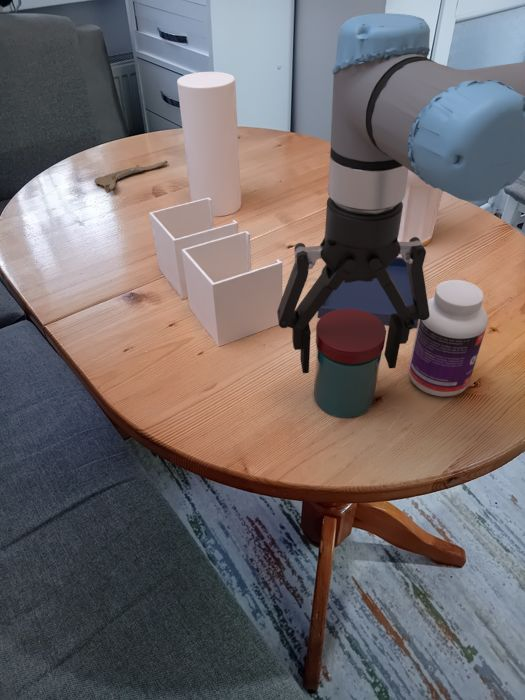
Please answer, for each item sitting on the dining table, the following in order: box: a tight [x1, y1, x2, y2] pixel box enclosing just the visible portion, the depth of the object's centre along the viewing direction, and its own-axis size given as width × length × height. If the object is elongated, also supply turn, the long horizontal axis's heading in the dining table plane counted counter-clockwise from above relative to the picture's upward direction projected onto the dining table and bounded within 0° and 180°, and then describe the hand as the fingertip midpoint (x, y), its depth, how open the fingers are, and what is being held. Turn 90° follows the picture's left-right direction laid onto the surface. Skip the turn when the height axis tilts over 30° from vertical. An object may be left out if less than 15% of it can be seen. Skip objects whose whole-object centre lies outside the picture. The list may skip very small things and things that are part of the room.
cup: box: [398, 170, 444, 246], centre depth 98 cm, size 11×11×17 cm
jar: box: [313, 345, 383, 419], centre depth 68 cm, size 8×8×11 cm
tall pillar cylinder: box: [176, 71, 242, 218], centre depth 107 cm, size 11×11×25 cm
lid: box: [315, 309, 387, 364], centre depth 65 cm, size 8×8×2 cm
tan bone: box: [93, 160, 169, 193], centre depth 128 cm, size 9×20×2 cm, turn 149°
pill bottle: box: [408, 279, 489, 397], centre depth 69 cm, size 8×8×14 cm
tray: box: [317, 256, 419, 329], centre depth 89 cm, size 17×15×2 cm
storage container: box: [148, 197, 283, 347], centre depth 87 cm, size 25×11×11 cm, turn 29°
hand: (347, 363), depth 68 cm, fingers open, 10 cm apart
